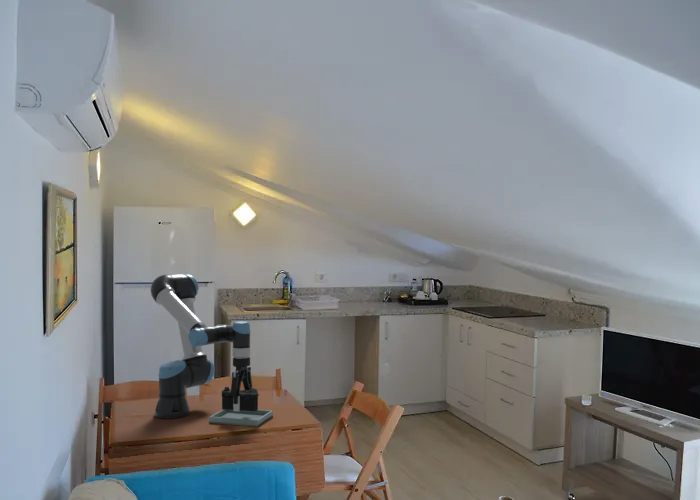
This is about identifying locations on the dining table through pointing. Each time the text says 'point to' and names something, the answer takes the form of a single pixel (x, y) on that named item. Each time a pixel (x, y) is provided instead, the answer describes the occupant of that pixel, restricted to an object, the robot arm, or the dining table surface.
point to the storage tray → (241, 417)
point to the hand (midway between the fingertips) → (241, 408)
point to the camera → (241, 400)
